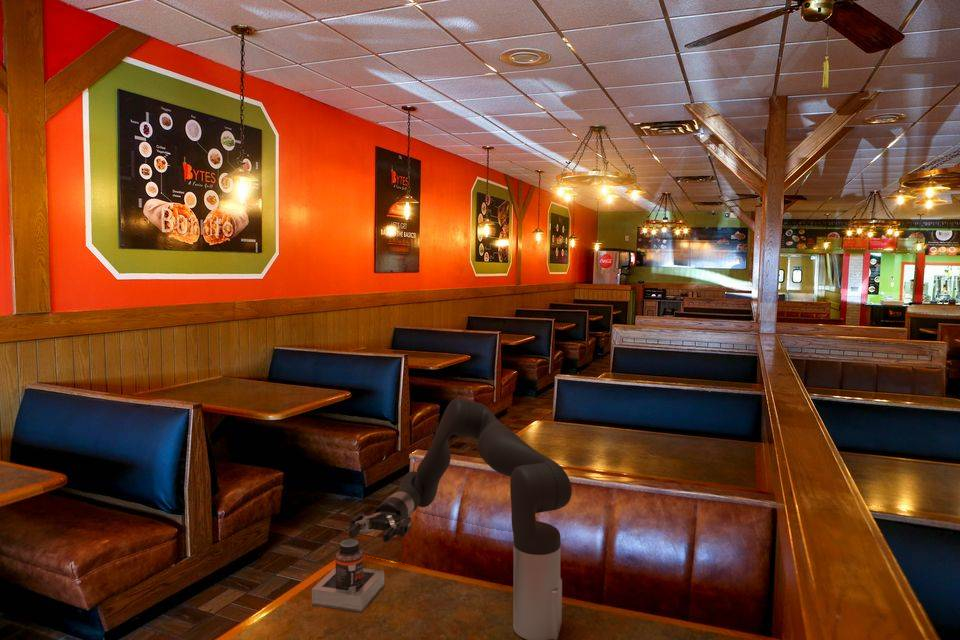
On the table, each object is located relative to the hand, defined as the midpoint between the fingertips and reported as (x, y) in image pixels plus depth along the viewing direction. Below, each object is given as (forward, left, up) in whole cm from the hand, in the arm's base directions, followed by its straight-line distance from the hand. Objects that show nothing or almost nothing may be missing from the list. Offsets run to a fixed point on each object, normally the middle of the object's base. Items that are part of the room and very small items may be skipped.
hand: (367, 536), depth 148 cm
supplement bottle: (0, +10, -9) cm, 13 cm away
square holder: (0, +10, -9) cm, 13 cm away
